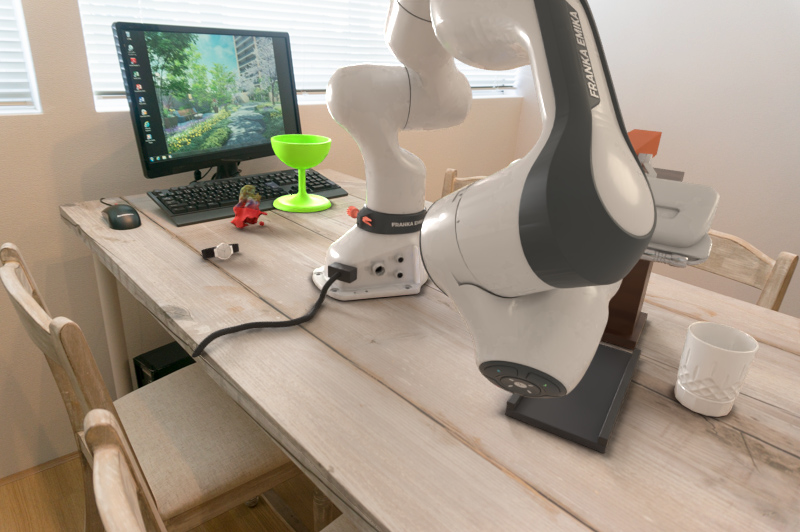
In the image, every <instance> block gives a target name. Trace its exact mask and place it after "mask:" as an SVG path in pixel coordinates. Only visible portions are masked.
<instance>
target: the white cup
mask: <svg viewBox="0 0 800 532" xmlns="http://www.w3.org/2000/svg"><path fill="white" fill-rule="evenodd" d="M759 347H760V344H759V342H758V341H757V339H755V337H753V336H752V335H750V334H749V333H748V332H746V331H743V330H742V329H739V328H737V327H734V326H731V325H729V324H724V323H720V322H715V321H704V320H703V321H695V322H692V323H690V324H689V325H688V326H687V330H686V334H685V339H684V343H683V346H682V351H681V356H680V359H679V366H678V369H677V378H676V382H675V386H674V390H673V391H674V398H675V399H676V400H677V401H678V402H679V403H680V404H681V405H682V406H683V407H685V408H687V409H688V410H690V411H692V412H695V413H697V414H699V415H703V416H707V417H716V418H719V417H724V416H728V414H729V413H730V412H731V411H732V408H733V406H734V404H735V401H736V399H737V398H738V397H739V394H740V392H741V390H742V388H743V386H744V383H745V381H746V379H747V377H748V375H749V372H750V369H751V367H752V364H753V362H754V360H755V358H756V355H757V353H758V350H759Z"/></svg>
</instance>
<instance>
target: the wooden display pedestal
mask: <svg viewBox="0 0 800 532" xmlns="http://www.w3.org/2000/svg"><path fill="white" fill-rule="evenodd" d="M653 169H654V170H655V172H656V173H657V178H659V179H666V180H673V181H680V182H684V181H683V180H684V177H685V173H686V172H685V171H681V170H674V169H666V168H660V167H653ZM654 263H655V262H654V261H653V262H650V261H645V260H641V259H639V261H638V262H637V263H636V265H635V266H634V267H633V268H632V270H631V271H630V272H629V273H628V274H627V275H626V276H625V277H624V278H623V280H622V283H621V285H620V287H619V289H618V291H617V292H616V294H615V295H614V296H613V297H612V298H611V300H610V301H609V305H608V310H609V314H608V321H607V324H606V327H605V330H604V332H603V335H602V338H601V340H600V341H602V342H605V343H608V344H612V345H615V346H619V347H622V348H626V349H629V350H634V348H636V347H637V345H638V342H639V340H640V338H641V335H642V332H643V330H644V327H645V325H646V323H647V319H648V315H649V313H647V312H644V311H642V309H643V307H644V306H643V305H644V302H645V298H646V294H647V290H648V286H649V282H650V278H651V274H652V270H653V266H654Z"/></svg>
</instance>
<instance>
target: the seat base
mask: <svg viewBox="0 0 800 532" xmlns="http://www.w3.org/2000/svg"><path fill="white" fill-rule="evenodd" d="M641 353H642V349H641V348H640V349H639V348H636V347H635V348H634V350H633V351H632V352H629V351H625V350H622V349H620V348H615V347H613V346H609V345H605V344H602V343H599V345H598V348H597V350H596V353H595V355H594V357H593V359H592V361H591V363H590V365H589V367H588V369H587V371H586V373H585V374H584V376H583V378H582V379H581V380H580V382H579V383H578V384H577V386H576V387H575V388H574V389H573V390H572V391H571V392H570V393H568V394H567V395H565V396H560V397H558V398H529V397H524V396H521V395H517V394H514V393H511V395H510V397H509V398H508V400H507V401H506V406H505V413H504V415H505V416H508V417H510V418H513V419H515V420H517V421H520V422H522V423H526V424H528V425H530V426H533V427H535V428H538V429H540V430H543V431H546V432H549V433H551V434H553V435H557V436H558V437H561V438H563V439H566V440H568V441H571V442H574V443H577V444H579V445H581V446H584V447H587V448H589V449H592V450H594V451H596V452H599V453H601V454H605V453H606V451H607V448H608V445H609V443H610V440H611V437H612V434H613V432H614V429H615V426H616V424H617V421H618V418H619V415H620V412H621V410H622V407H623V405H624V402H625V399H626V396H627V393H628V391H629V388H630V385H631V383H632V380H633V377H634V375H635V372H636V369H637V367H638V365H639V362H640V357H641Z"/></svg>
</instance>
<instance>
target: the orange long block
mask: <svg viewBox="0 0 800 532" xmlns="http://www.w3.org/2000/svg"><path fill="white" fill-rule="evenodd" d="M627 133H628V136H629V139H630V141H631V143H632V146H633V148H634V150H635V152H636V154H637V155H638V153H644V154H653V157H652V159H653V158H655V157H656V156H657V155H658V151H659V146H660V142H661V138H662V134H663V132H662V131H656V130H647V129H640V128H639V129H638V128H633V129H632V130H630V131H627Z"/></svg>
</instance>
